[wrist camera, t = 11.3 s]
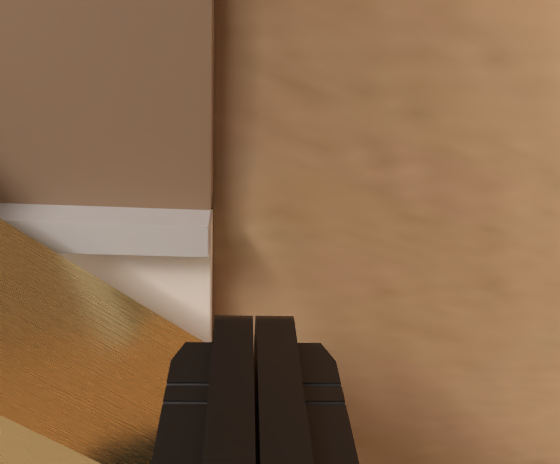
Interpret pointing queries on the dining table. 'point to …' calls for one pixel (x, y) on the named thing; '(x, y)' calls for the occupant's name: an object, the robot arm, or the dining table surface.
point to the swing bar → (76, 362)
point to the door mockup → (114, 143)
